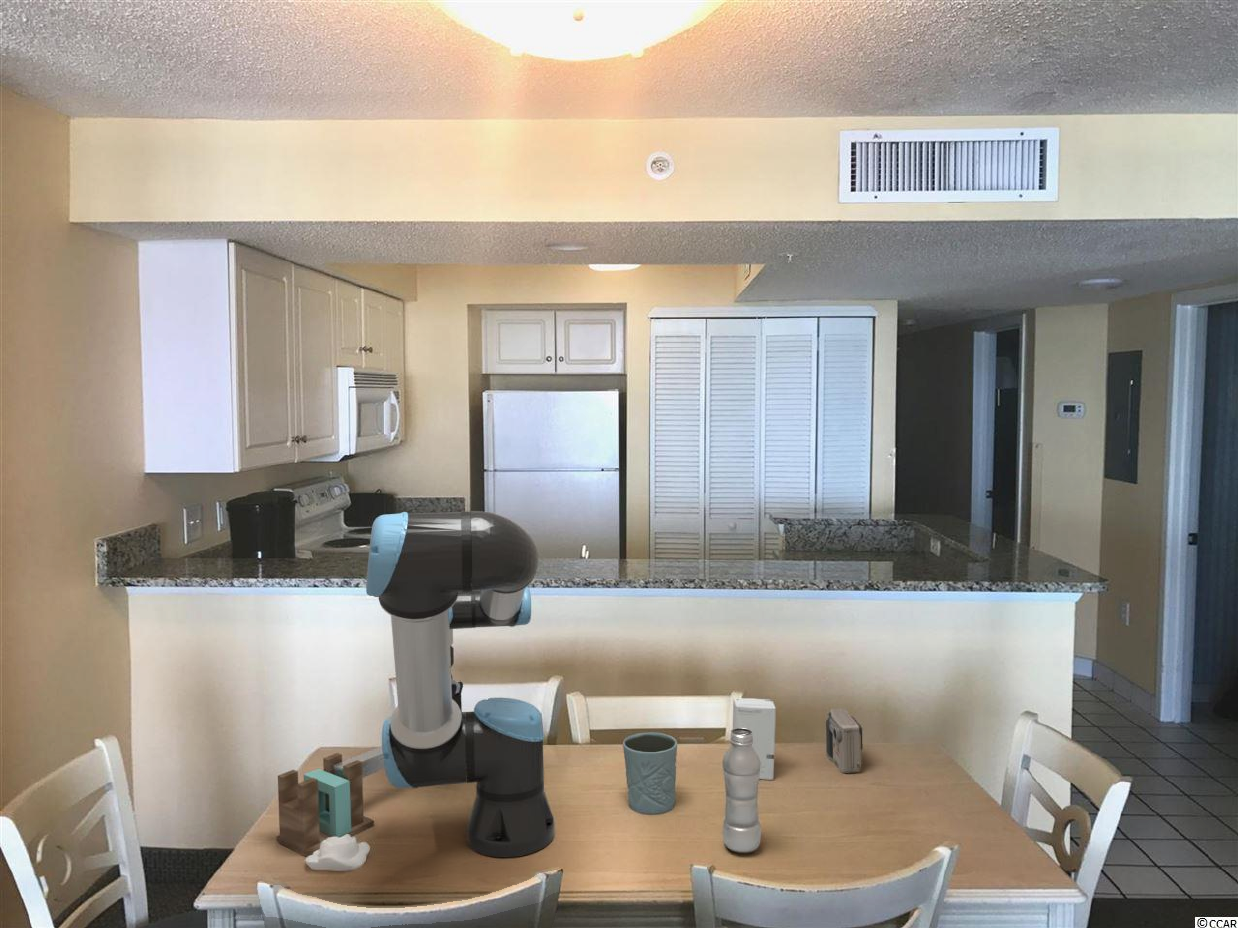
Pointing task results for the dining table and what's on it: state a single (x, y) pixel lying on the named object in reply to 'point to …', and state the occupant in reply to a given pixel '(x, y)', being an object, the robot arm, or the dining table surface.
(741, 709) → the skincare box
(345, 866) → the white cowboy hat
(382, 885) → the dining table surface
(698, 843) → the dining table surface
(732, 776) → the plastic bottle
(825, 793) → the dining table surface
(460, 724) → the robot arm
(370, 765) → the shaft
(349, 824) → the block
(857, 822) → the dining table surface
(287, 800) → the block
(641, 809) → the drinking glass
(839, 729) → the camera
